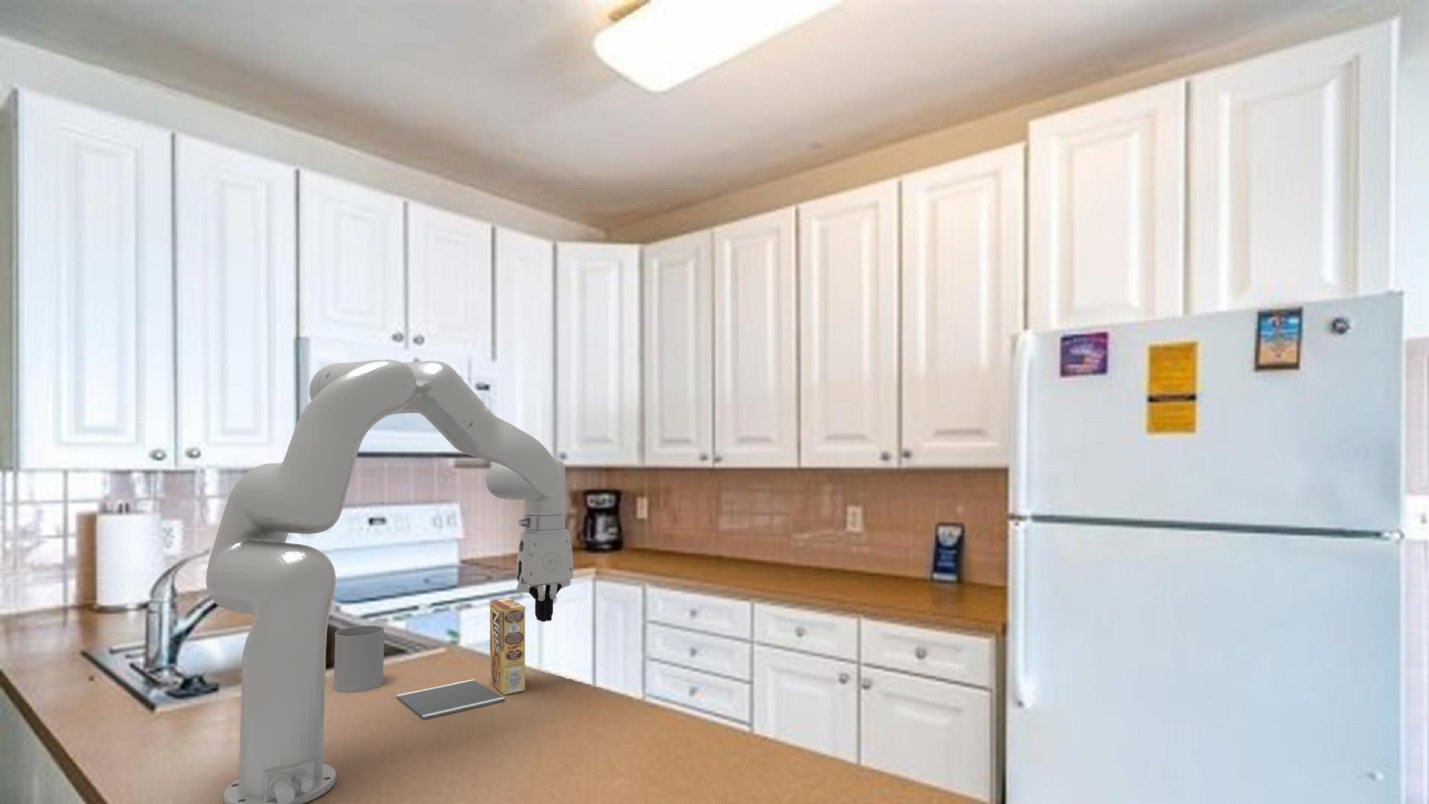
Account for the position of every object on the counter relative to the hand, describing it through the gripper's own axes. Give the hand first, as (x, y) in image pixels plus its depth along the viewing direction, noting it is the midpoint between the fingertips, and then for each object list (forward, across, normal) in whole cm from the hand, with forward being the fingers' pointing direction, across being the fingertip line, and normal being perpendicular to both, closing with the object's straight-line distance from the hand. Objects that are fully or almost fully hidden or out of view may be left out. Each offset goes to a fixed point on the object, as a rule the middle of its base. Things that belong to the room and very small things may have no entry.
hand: (543, 619), depth 146 cm
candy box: (+11, -8, 0) cm, 14 cm away
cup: (+11, -28, +19) cm, 36 cm away
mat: (+11, -18, 0) cm, 21 cm away
